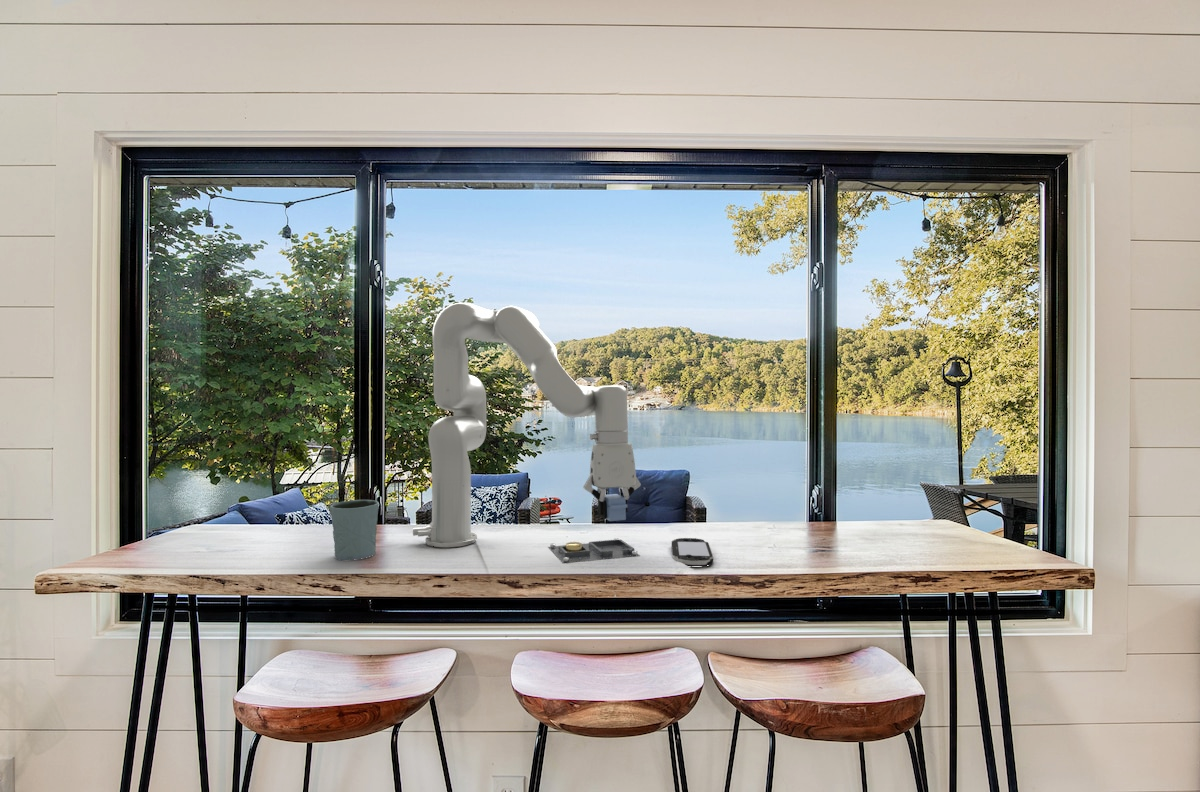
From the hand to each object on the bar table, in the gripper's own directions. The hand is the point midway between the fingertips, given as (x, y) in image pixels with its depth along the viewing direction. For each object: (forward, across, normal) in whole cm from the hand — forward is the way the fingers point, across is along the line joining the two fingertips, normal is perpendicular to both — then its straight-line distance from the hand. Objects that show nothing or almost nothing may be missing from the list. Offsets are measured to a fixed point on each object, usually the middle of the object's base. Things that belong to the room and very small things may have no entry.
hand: (612, 516), depth 132 cm
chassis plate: (+9, -5, 0) cm, 10 cm away
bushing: (+8, -10, 0) cm, 12 cm away
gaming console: (+10, +17, -6) cm, 21 cm away
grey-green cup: (+8, -57, +17) cm, 60 cm away
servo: (0, 0, 0) cm, 0 cm away
